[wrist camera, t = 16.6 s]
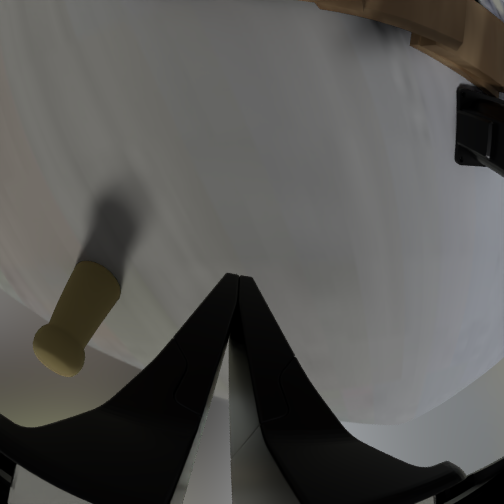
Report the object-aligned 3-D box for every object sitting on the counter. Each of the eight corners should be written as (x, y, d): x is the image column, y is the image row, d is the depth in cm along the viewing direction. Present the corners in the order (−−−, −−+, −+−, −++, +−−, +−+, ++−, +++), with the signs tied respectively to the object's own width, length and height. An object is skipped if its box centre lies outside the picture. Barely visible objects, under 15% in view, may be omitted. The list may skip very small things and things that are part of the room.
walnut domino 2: (420, -19, 8) (502, 34, 8) (420, 46, 11) (500, 92, 11) (434, -25, 6) (517, 35, 6) (435, 44, 10) (515, 96, 10)
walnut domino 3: (412, -12, 9) (491, 41, 10) (405, 45, 13) (483, 94, 13) (425, -17, 8) (505, 42, 8) (418, 44, 11) (498, 98, 12)
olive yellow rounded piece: (66, 259, 24) (12, 337, 15) (111, 262, 24) (58, 352, 15) (84, 300, 27) (45, 376, 18) (127, 306, 27) (91, 392, 18)
